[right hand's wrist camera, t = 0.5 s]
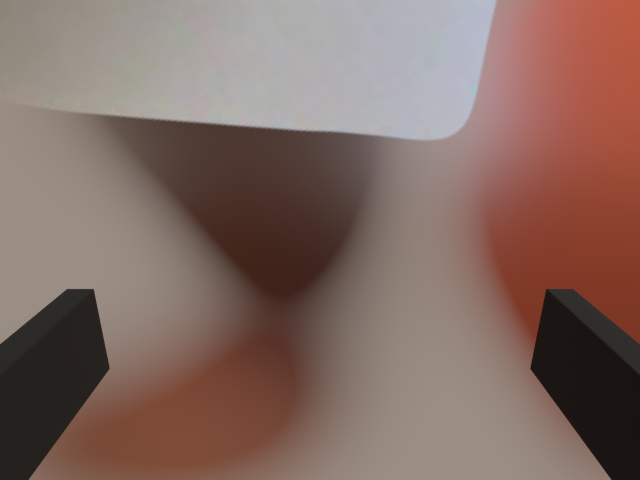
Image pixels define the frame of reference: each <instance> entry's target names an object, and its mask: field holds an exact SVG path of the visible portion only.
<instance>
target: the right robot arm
mask: <svg viewBox="0 0 640 480" xmlns="http://www.w3.org/2000/svg"><path fill="white" fill-rule="evenodd" d="M530 369H531V370H532V372H533V373H534V374H535V376H536V377H537V378H538V380H539V381H540V382H541V384H542V385H543V387H544V388H545V389H546V391H547V392H548V393H549V395H550V396H551V397H552V399H553V400H554V402H555V403H556V404H557V406H558V407H559V408H560V410H561V411H562V413H563V414H564V415H565V417H566V418H567V419H568V421H569V422H570V423H571V425H572V426H573V428H574V429H575V430H576V432H577V433H578V434H579V436H580V437H581V439H582V440H583V441H584V443H585V444H586V445H587V447H588V448H589V449H590V451H591V452H592V454H593V455H594V456H595V458H596V459H597V460H598V462H599V463H600V465H601V466H602V467H603V469H604V470H605V471H606V473H607V474H608V476H609V477H610V478H611V480H640V344H639V343H637V342H636V341H635V340H634V339H633V338H631V337H630V336H629V335H628V334H627V333H625V332H624V331H623V330H622V329H621V328H619V327H618V326H617V325H616V324H614V323H613V322H612V321H611V320H610V319H608V318H607V317H606V316H605V315H604V314H602V313H601V312H600V311H599V310H597V309H596V308H595V307H594V306H593V305H591V304H590V303H589V302H588V301H587V300H585V299H584V298H583V297H582V296H581V295H579V294H578V293H577V292H576V291H574V290H573V289H546V294H545V299H544V303H543V308H542V314H541V318H540V323H539V328H538V333H537V338H536V343H535V348H534V353H533V358H532V363H531V368H530ZM108 370H109V363H108V358H107V353H106V348H105V343H104V338H103V333H102V328H101V323H100V319H99V313H98V308H97V304H96V299H95V294H94V289H67V290H66V291H64V292H63V293H62V294H61V295H59V296H58V297H57V298H56V299H55V300H53V301H52V302H51V303H50V304H49V305H47V306H46V307H45V308H44V309H43V310H41V311H40V312H39V313H38V314H37V315H35V316H34V317H33V318H32V319H30V320H29V321H28V322H27V323H26V324H24V325H23V326H22V327H21V328H19V329H18V330H17V331H16V332H15V333H13V334H12V335H11V336H10V337H9V338H7V339H6V340H5V341H4V342H2V343H1V344H0V480H29V478H30V477H31V476H32V474H33V473H34V471H35V470H36V469H37V467H38V466H39V465H40V463H41V462H42V460H43V459H44V458H45V456H46V455H47V454H48V452H49V451H50V450H51V448H52V447H53V445H54V444H55V443H56V441H57V440H58V439H59V437H60V436H61V434H62V433H63V432H64V430H65V429H66V428H67V426H68V425H69V423H70V422H71V421H72V419H73V418H74V417H75V415H76V414H77V413H78V411H79V410H80V408H81V407H82V406H83V404H84V403H85V402H86V400H87V399H88V398H89V396H90V395H91V393H92V392H93V391H94V389H95V388H96V387H97V385H98V384H99V382H100V381H101V380H102V378H103V377H104V376H105V374H106V373H107V371H108Z"/></svg>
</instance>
